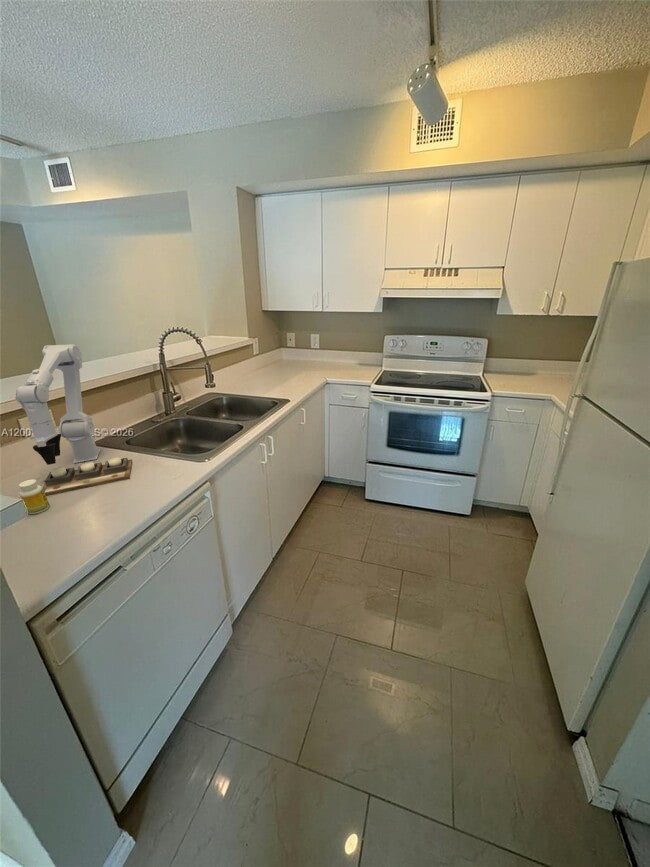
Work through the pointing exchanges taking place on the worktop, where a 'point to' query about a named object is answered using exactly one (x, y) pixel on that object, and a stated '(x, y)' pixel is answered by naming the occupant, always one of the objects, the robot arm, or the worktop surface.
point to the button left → (59, 472)
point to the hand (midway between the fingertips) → (54, 459)
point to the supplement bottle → (33, 496)
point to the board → (87, 477)
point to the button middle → (87, 467)
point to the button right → (115, 462)
